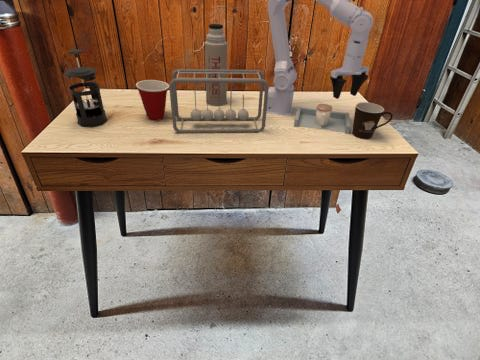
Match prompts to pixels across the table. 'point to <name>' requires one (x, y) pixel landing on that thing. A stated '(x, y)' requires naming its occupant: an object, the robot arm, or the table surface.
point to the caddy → (336, 123)
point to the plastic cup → (153, 98)
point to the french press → (87, 105)
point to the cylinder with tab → (323, 114)
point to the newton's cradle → (219, 113)
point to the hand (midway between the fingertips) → (344, 96)
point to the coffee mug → (367, 119)
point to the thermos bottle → (216, 64)
